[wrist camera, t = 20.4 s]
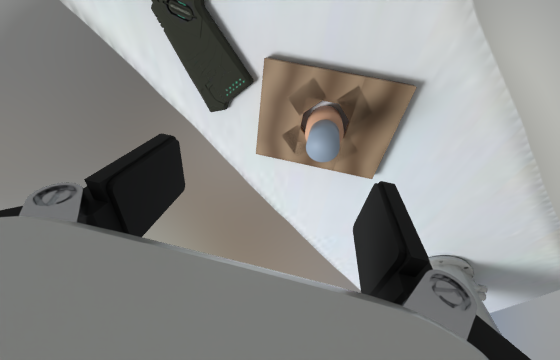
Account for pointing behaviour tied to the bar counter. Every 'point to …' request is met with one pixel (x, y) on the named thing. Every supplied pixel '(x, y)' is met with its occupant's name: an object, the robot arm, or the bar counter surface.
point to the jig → (338, 89)
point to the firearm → (203, 51)
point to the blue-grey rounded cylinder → (323, 141)
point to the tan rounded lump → (327, 114)
